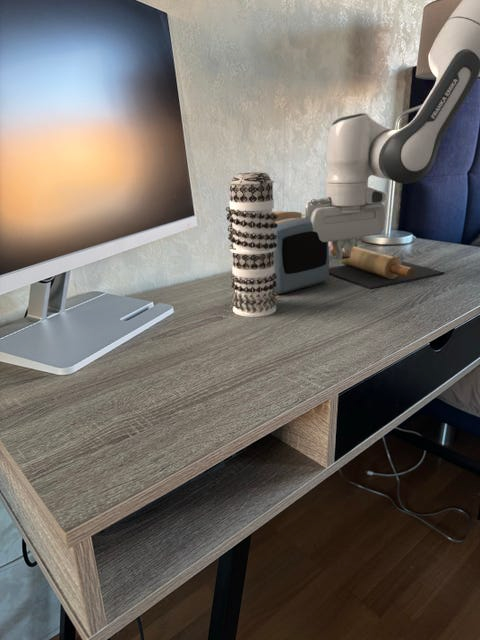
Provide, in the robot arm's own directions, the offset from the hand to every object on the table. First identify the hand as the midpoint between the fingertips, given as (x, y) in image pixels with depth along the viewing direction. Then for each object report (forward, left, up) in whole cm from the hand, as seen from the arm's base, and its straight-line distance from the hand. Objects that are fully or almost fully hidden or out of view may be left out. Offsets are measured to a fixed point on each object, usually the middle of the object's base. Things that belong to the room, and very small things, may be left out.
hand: (343, 258), depth 102 cm
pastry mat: (-11, +1, -5) cm, 12 cm away
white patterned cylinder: (+27, +8, -5) cm, 29 cm away
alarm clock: (+13, -5, -5) cm, 15 cm away
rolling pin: (-8, 0, -5) cm, 9 cm away
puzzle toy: (-18, -22, -5) cm, 29 cm away
